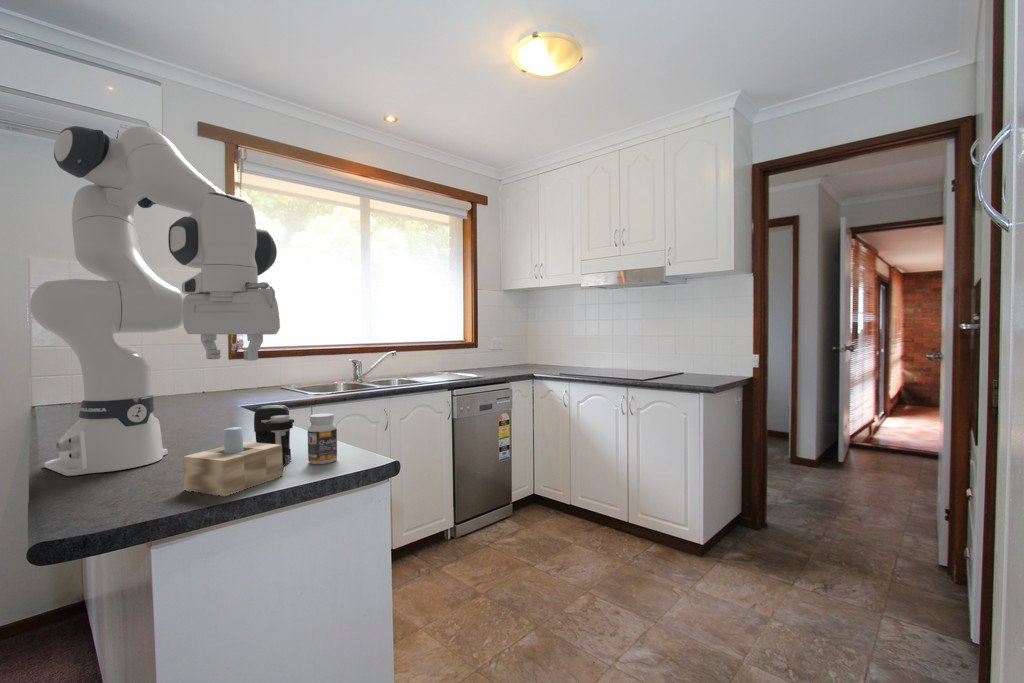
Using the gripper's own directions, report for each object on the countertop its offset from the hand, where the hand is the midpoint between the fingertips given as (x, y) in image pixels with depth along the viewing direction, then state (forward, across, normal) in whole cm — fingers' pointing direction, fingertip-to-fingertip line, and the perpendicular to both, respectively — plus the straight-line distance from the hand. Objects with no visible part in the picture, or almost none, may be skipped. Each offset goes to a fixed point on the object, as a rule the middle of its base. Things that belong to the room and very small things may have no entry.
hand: (231, 359), depth 87 cm
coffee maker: (+23, +8, -16) cm, 29 cm away
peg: (+23, 0, 0) cm, 23 cm away
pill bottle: (+23, -5, -17) cm, 29 cm away
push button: (+23, +2, -12) cm, 26 cm away
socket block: (+23, 0, 0) cm, 23 cm away
